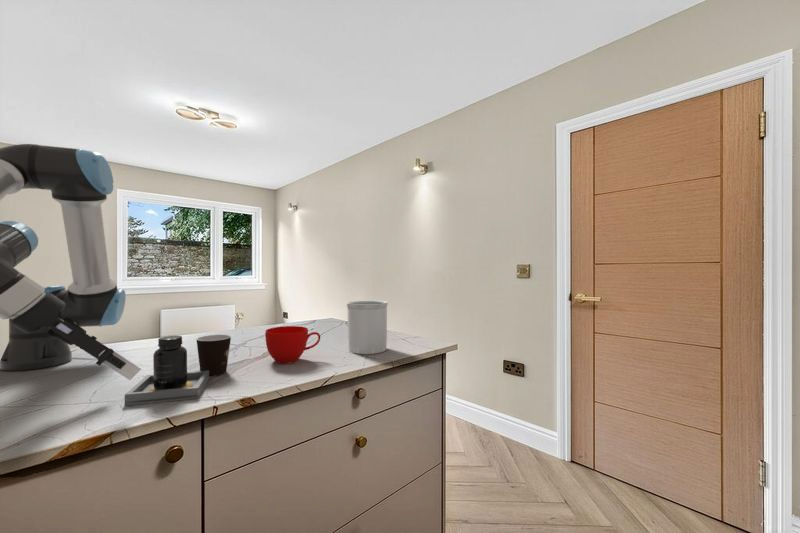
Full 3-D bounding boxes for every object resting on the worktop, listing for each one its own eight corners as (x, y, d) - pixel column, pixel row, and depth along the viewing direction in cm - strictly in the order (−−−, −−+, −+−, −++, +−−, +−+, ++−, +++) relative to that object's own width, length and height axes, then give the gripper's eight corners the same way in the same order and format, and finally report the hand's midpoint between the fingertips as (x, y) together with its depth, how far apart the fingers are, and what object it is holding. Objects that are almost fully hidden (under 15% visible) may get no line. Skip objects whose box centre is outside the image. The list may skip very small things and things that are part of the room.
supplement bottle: (163, 382, 88) (164, 334, 88) (192, 381, 89) (192, 334, 89) (146, 392, 82) (146, 340, 81) (177, 391, 82) (178, 340, 82)
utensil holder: (340, 353, 123) (341, 303, 123) (353, 344, 137) (353, 299, 137) (382, 356, 120) (382, 304, 120) (390, 346, 135) (391, 300, 135)
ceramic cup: (320, 364, 109) (320, 332, 109) (262, 367, 105) (262, 334, 105) (320, 354, 122) (320, 325, 122) (268, 356, 118) (268, 326, 118)
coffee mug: (216, 379, 94) (216, 341, 94) (188, 376, 96) (188, 340, 96) (243, 366, 106) (244, 333, 106) (218, 365, 108) (218, 332, 108)
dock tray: (146, 384, 89) (147, 375, 89) (209, 379, 94) (209, 370, 94) (124, 405, 76) (124, 394, 76) (198, 398, 81) (198, 387, 81)
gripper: (-1, 314, 72) (95, 371, 84) (14, 329, 56) (128, 397, 68) (37, 287, 76) (122, 345, 88) (60, 294, 61) (160, 363, 72)
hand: (125, 368), depth 78 cm, fingers open, 13 cm apart
